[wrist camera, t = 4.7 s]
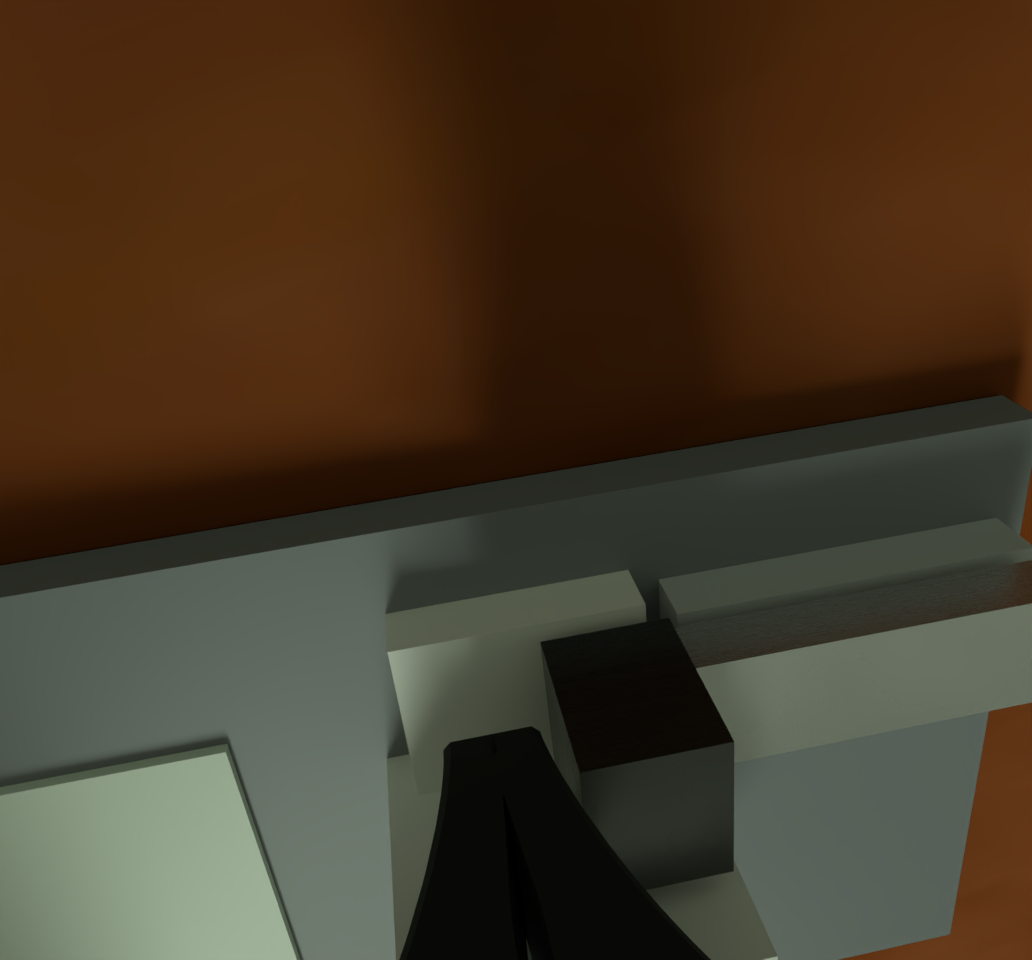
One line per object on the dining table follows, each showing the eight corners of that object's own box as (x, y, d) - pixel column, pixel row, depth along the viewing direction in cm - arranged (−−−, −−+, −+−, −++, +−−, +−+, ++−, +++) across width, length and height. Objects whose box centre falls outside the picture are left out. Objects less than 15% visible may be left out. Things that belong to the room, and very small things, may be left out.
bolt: (1013, 668, 16) (1132, 784, 13) (553, 759, 15) (593, 902, 12) (1036, 548, 14) (1170, 653, 12) (540, 642, 14) (580, 772, 11)
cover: (671, 890, 19) (769, 1159, 14) (429, 943, 18) (454, 1237, 14) (657, 564, 15) (784, 791, 11) (353, 619, 15) (355, 881, 10)
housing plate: (925, 897, 22) (976, 974, 20) (18, 1098, 20) (-15, 1203, 18) (1001, 394, 16) (1083, 442, 14) (-290, 615, 14) (-383, 702, 12)
